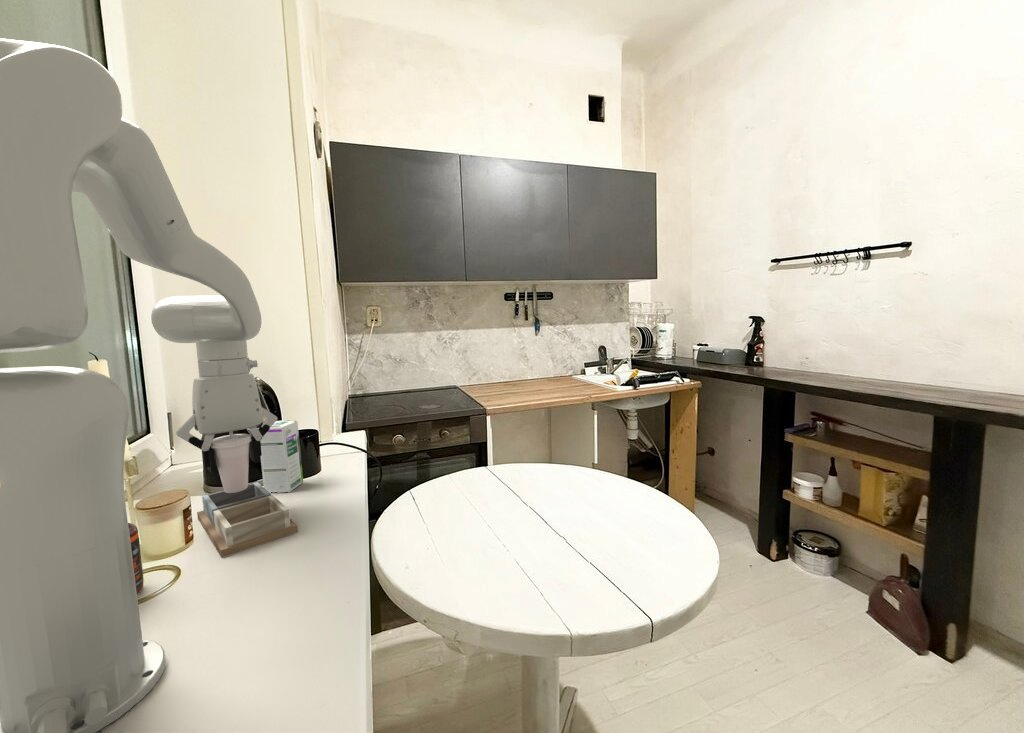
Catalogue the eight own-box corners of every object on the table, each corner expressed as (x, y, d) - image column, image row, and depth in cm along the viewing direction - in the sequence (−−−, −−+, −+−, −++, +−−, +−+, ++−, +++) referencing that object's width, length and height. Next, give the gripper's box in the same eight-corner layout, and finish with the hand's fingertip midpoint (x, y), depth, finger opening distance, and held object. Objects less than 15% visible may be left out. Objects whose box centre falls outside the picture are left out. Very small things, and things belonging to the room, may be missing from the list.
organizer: (297, 531, 73) (295, 508, 72) (221, 557, 65) (218, 531, 65) (263, 500, 87) (261, 480, 86) (197, 518, 79) (195, 496, 79)
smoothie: (260, 480, 83) (252, 410, 82) (251, 492, 77) (243, 416, 76) (222, 485, 81) (214, 413, 80) (209, 498, 75) (200, 420, 74)
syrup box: (290, 493, 90) (284, 425, 89) (262, 493, 90) (256, 426, 89) (303, 483, 96) (298, 419, 95) (277, 483, 96) (272, 420, 95)
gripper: (271, 363, 85) (278, 450, 87) (160, 372, 73) (171, 473, 75) (283, 365, 80) (290, 458, 82) (165, 375, 68) (178, 484, 70)
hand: (233, 464), depth 79 cm, fingers closed on smoothie, 6 cm apart
